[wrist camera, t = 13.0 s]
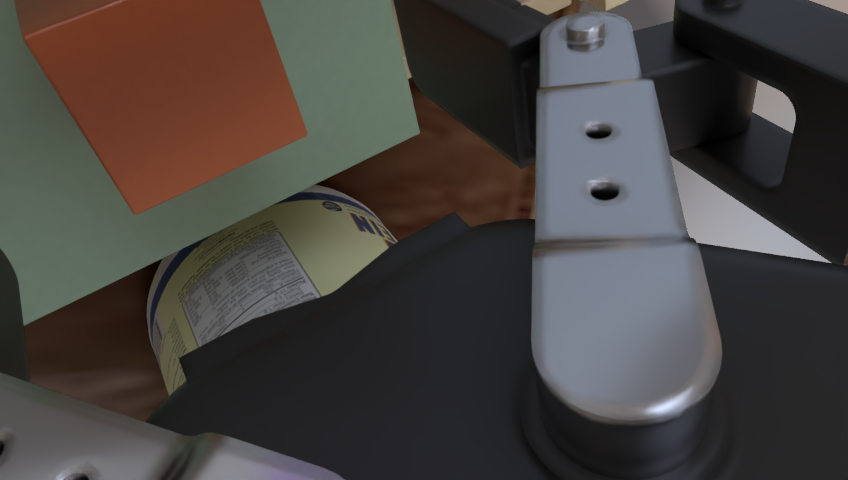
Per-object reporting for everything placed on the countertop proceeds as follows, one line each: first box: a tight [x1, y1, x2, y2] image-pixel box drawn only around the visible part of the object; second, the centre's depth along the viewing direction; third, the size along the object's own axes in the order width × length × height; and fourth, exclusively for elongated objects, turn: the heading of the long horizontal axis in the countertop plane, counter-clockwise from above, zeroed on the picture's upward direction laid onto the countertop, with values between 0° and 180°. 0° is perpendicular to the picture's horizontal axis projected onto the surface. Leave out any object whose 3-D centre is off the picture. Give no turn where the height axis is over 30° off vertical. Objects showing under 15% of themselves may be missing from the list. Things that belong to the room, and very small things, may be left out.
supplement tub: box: [147, 185, 399, 395], centre depth 27 cm, size 12×12×17 cm
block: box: [14, 0, 308, 215], centre depth 14 cm, size 4×4×4 cm
